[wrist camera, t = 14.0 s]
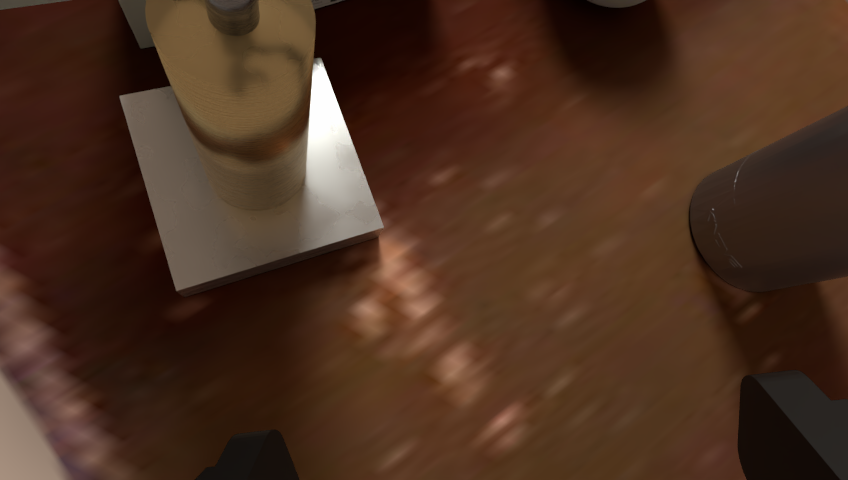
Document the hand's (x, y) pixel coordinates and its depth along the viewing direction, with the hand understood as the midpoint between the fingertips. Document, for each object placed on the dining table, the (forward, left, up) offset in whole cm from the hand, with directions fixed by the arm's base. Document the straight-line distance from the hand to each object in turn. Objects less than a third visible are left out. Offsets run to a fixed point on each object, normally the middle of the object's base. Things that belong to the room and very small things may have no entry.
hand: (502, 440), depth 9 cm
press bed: (+2, -14, -20) cm, 24 cm away
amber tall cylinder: (+2, -14, -18) cm, 23 cm away
